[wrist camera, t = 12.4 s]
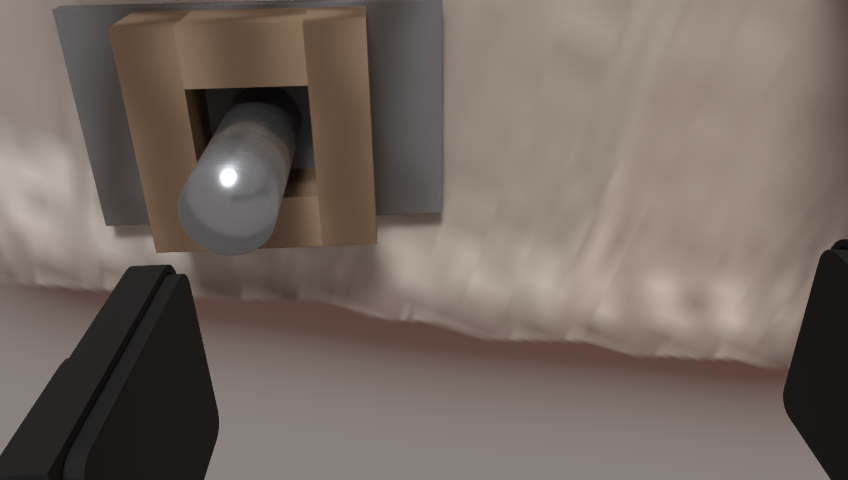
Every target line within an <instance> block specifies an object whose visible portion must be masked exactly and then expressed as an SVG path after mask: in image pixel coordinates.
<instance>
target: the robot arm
mask: <svg viewBox="0 0 848 480" xmlns="http://www.w3.org/2000/svg"><path fill="white" fill-rule="evenodd" d="M783 401H784V407H785V409H786V413H787V414H788V416H789V418H790V419H791V421H792V422H793V424H794V425H795V427H796V428H797V430H798V431H799V433H800V434H801V436H802V437H803V439H804V440H805V442H806V443H807V445H808V446H809V448H810V449H811V451H812V452H813V454H814V455H815V457H816V458H817V460H818V461H819V463H820V464H821V466H822V467H823V469H824V470H825V472H826V473H827V474H828V476H829V477H830V479H831V480H848V239H843V240H839V241H837V242H836V243H835V244H834V245H833V246H832V248H831V250H826V251H824V252H823V254H822V255H821V257H820V259H819V263H818V266H817V270H816V274H815V277H814V281H813V285H812V288H811V292H810V296H809V299H808V303H807V307H806V310H805V314H804V318H803V321H802V325H801V329H800V332H799V336H798V340H797V343H796V347H795V351H794V354H793V358H792V362H791V365H790V369H789V373H788V377H787V380H786V384H785V387H784V392H783ZM218 430H219V416H218V409H217V405H216V400H215V396H214V391H213V386H212V382H211V377H210V373H209V368H208V364H207V359H206V355H205V351H204V346H203V341H202V337H201V333H200V328H199V323H198V319H197V314H196V310H195V305H194V301H193V296H192V291H191V287H190V283H189V280H188V277H187V276H186V275H185V274H176V271H175V270H174V268H173V267H172V266H171V265H149V266H131V267H129V268H128V269H127V270H126V272H125V273H124V275H123V276H122V278H121V279H120V281H119V282H118V284H117V285H116V287H115V288H114V290H113V292H112V293H111V295H110V296H109V298H108V299H107V301H106V302H105V304H104V305H103V307H102V308H101V310H100V311H99V313H98V314H97V316H96V318H95V319H94V321H93V322H92V324H91V325H90V327H89V328H88V330H87V331H86V333H85V335H84V336H83V338H82V339H81V341H80V342H79V343H78V345H77V347H76V348H75V350H74V351H73V353H72V354H71V356H70V357H69V358H68V359H66V360H65V361H64V362H63V363H62V364H61V365H60V366H59V368H58V369H57V371H56V372H55V374H54V375H53V377H52V378H51V380H50V381H49V383H48V384H47V386H46V388H45V389H44V390H43V392H42V394H41V395H40V396H39V398H38V400H37V401H36V402H35V404H34V406H33V407H32V408H31V410H30V412H29V413H28V415H27V416H26V418H25V419H24V421H23V422H22V424H21V425H20V427H19V428H18V430H17V431H16V433H15V434H14V436H13V437H12V439H11V440H10V442H9V443H8V445H7V446H6V448H5V449H4V451H3V453H2V454H1V455H0V480H204V478H205V474H206V472H207V468H208V465H209V462H210V459H211V456H212V453H213V449H214V446H215V443H216V440H217V436H218Z"/></svg>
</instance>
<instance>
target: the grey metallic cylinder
mask: <svg viewBox="0 0 848 480" xmlns="http://www.w3.org/2000/svg"><path fill="white" fill-rule="evenodd" d="M301 127H302V117H301V113H300V110H299V107H298V105H297V104H296V102H295V101H294V100H293V98H292V97H291V96H290V95H289V94H287V93H286V92H285V91H283V90H281V89H279V88H277V87H249V88H247V89H245V90H243V91H242V92H241V93H240V94H239V95H238V96H237V97H236V98H235V99H234V101H233V103H232V104H231V106H230V108H229V109H228V111H227V113H226V115H225V116H224V118H223V120H222V121H221V123H220V125H219V127H218V128H217V130H216V132H215V133H214V135H213V137H212V139H211V140H210V142H209V144H208V145H207V147H206V149H205V151H204V152H203V154H202V156H201V157H200V159H199V161H198V163H197V164H196V166H195V168H194V169H193V171H192V173H191V175H190V176H189V178H188V180H187V181H186V183H185V185H184V187H183V188H182V190H181V192H180V195H179V198H178V204H177V210H178V217H179V220H180V223H181V225H182V227H183V229H184V230H185V232H186V233H187V235H188V236H189V237H190V238H191V239H192V240H193V241H194V242H195V243H197V244H198V245H200V246H201V247H203V248H205V249H207V250H209V251H211V252H214V253H218V254H222V255H241V254H246V253H249V252H251V251H253V250H256V249H257V248H259V247H260V246H262V245H263V244H264V243H265V242H266V241H267V240H268V239H269V237H270V236H271V234H272V233H273V230H274V228H275V224H276V221H277V217H278V213H279V209H280V206H281V202H282V198H283V195H284V191H285V187H286V183H287V180H288V176H289V172H290V169H291V165H292V161H293V157H294V154H295V150H296V146H297V143H298V139H299V135H300V132H301Z"/></svg>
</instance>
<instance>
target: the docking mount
mask: <svg viewBox="0 0 848 480" xmlns="http://www.w3.org/2000/svg"><path fill="white" fill-rule="evenodd" d="M53 14H54V18H55V22H56V26H57V30H58V34H59V38H60V42H61V46H62V50H63V54H64V58H65V62H66V66H67V70H68V75H69V79H70V83H71V87H72V91H73V95H74V99H75V103H76V107H77V111H78V115H79V119H80V123H81V127H82V131H83V135H84V139H85V143H86V147H87V151H88V155H89V159H90V163H91V167H92V171H93V175H94V179H95V183H96V187H97V191H98V195H99V199H100V203H101V207H102V211H103V215H104V219H105V223H106V226H115V225H140V224H150V225H151V230H152V235H153V239H154V244H155V248H156V253H165V252H189V251H209V250H207V249H205V248H203V247H201V246H200V245H198V244H197V243H195V242H194V241H193V240H192V239H191V238H190V237H189V236H188V235H187V233H186V232H185V230H184V229H183V227H182V225H181V223H180V220H179V217H178V210H177V204H178V198H179V195H180V192H181V190H182V188H183V187H184V185H185V183H186V181H187V180H188V178H189V176H190V175H191V173H192V171H193V169H194V168H195V166H196V164H197V163H198V161H199V159H200V157H201V156H202V154H203V152H204V151H205V149H206V147H207V145H208V144H209V142H210V140H211V139H212V137H213V135H214V133H215V132H216V130H217V128H218V127H219V125H220V123H221V121H222V120H223V118H224V116H225V115H226V113H227V111H228V109H229V108H230V106H231V104H232V103H233V101H234V99H235V98H236V97H237V96H238V95H239V94H240V93H241V92H242V91H243V90H245V89H247V88H249V87H277V88H279V89H281V90H283V91H285V92H286V93H287V94H289V95H290V96H291V97H292V98H293V100H294V101H295V102H296V104H297V105H298V107H299V110H300V113H301V117H302V127H301V132H300V135H299V139H298V143H297V146H296V150H295V154H294V157H293V161H292V165H291V169H290V172H289V176H288V180H287V183H286V187H285V191H284V195H283V198H282V202H281V206H280V209H279V213H278V217H277V221H276V224H275V228H274V230H273V233H272V234H271V236H270V237H269V239H268V240H267V241H266V242H265V243H264V244H263V245H262V246H260V247H259V248H257V249H260V248H284V247H308V246H332V245H356V244H377V226H376V215H390V214H415V213H440V212H442V0H294V1H253V2H212V3H171V4H130V5H89V6H59V7H57V8H55V9H53Z"/></svg>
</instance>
